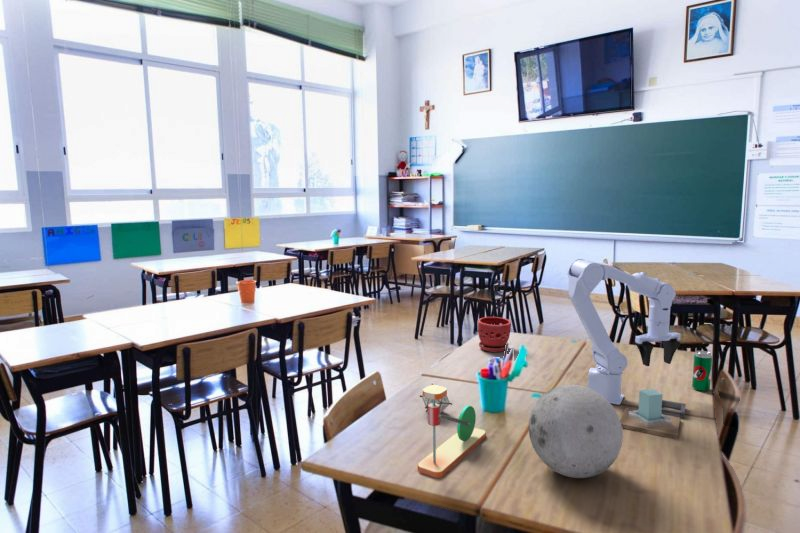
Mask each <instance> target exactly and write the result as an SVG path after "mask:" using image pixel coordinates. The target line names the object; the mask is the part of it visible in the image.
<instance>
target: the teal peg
mask: <svg viewBox="0 0 800 533" xmlns="http://www.w3.org/2000/svg"><path fill="white" fill-rule="evenodd" d="M638 391H639V396H638V409H637V410H638V415H640V416H641V417H643V418H645V419H646V420H648V421H650V420H657V419H661V412H662V408H663V406H662V400H663V393H661V392H659V391H657V390H655V389H653V388H649V389H648V388H647V389H640V390H638Z"/></svg>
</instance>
